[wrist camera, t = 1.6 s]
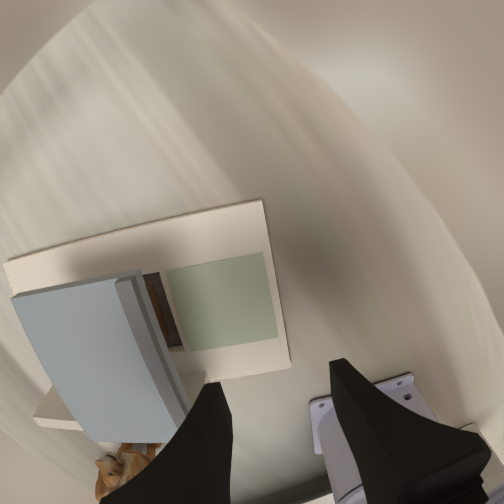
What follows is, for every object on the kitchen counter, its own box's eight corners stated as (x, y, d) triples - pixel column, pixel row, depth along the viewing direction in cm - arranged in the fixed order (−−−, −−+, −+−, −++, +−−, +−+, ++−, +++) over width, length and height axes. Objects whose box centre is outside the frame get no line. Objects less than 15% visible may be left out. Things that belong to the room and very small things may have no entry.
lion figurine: (118, 399, 23) (87, 479, 15) (175, 422, 24) (160, 506, 16) (98, 467, 27) (79, 525, 18) (140, 483, 28) (127, 543, 19)
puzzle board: (261, 198, 19) (270, 217, 13) (289, 361, 22) (302, 415, 17) (8, 260, 19) (-37, 287, 14) (64, 384, 23) (38, 425, 17)
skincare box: (428, 455, 29) (462, 522, 17) (438, 435, 27) (478, 507, 16) (463, 441, 29) (499, 501, 17) (474, 421, 28) (517, 483, 16)
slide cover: (140, 268, 13) (130, 280, 12) (203, 431, 17) (201, 448, 15) (18, 292, 14) (4, 303, 12) (94, 432, 17) (88, 446, 16)
